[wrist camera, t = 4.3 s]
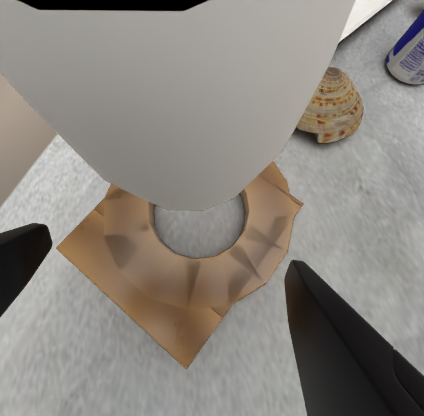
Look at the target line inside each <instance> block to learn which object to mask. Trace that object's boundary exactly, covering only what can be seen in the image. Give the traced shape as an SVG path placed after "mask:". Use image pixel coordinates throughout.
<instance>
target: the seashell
mask: <svg viewBox="0 0 424 416" xmlns="http://www.w3.org/2000/svg"><path fill="white" fill-rule="evenodd" d="M362 116H363V103H362V100H361V97H360V95H359V93H358V92H357V90H356V88H355V86H354V84H353V83H352V81H351V80H350V79H349V77H348V76H347V75H346V74H345V73H344V72H342V71H341V70H340V69H337V68H334V67H328V68H327V70H326V72H325V74H324V76H323V77H322V79H321V81H320V83H319V85H318V87H317V89H316V91H315V92H314V94H313V96H312V98H311V100H310V102H309V104H308V106H307V107H306V109H305V111H304V113H303V115H302V117H301V119H300V120H299V122H298V124H297V126H296V127H297V128H298V129H299V130H303V131H306V132H311V133H315V136H316V138H317V140H316V141H318V143H330V142H333V141H338V140H340V139H342V138H345V137H348V136H349V135H351V134H353V133H354V132H355V131H356V130H357V128H358V127H359V125H360V122H361V120H362Z"/></svg>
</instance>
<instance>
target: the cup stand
mask: <svg viewBox="0 0 424 416" xmlns="http://www.w3.org/2000/svg"><path fill="white" fill-rule="evenodd" d="M239 194H240V196H241V197H242V199H243V203H244V209H245V215H246V218H245V222H244V226H243V230H242V234H241V235H240V237H239V238H238V239H237V241H236V242H235V243H234V244H233V246H232V247H230V248H229V249H227V250H225V251H223V252H222V253H220V254H218V255H216V256H215V257H206V258H198V259H192V258H189V257H185V256H182V255H178V254H175V253H174V252H173V251H172V250H170V249H169V248H168V247H167V246H166V245H164V244H163V243H162V241H161V239H160V237H159V235H158V233H157V231H156V229H155V223H154V208H155V204H153V203H150V202H148V201H146V200H143V199H141V198H139V197H137V196H135V195H133V194H131V193H129V192H127V191H125V190H123V189H121V188H119V187H117V186H115V185H113V184H111V185H110V187H109V189H108V192H107V194H106V196H105V198H104V199H103V200H102V201H101V202H100V203H99V204H98V205H97V206H96V207H95V209H93V210H92V212H91V213H90V214H89V215H88V216H87V217H86V218H85V219H84V220H83V221H82V222H81V223H80V224H79V225H78V226H77V227H76V228H75V229H74V230H73V231H72V232H71V233H70V234H69V235H68V236H67V237H66V238H65V239H64V240H63V241H62V242H61V243H60V244H59V245H58V246H57V247H56V249H57V250H58V251H59V252H61V253H62V254H63V255H64V256H65V257H66V258H67V259H68V260H69V261H70V262H71V263H72V264H73V265H75V266H76V267H77V268H78V269H79V270H80V271H81V272H82V273H83V274H84V275H85V276H86V277H87V278H89V279H90V280H91V281H92V282H93V283H94V284H95V285H96V286H97V287H98V288H99V289H100V290H101V291H103V292H104V293H105V294H106V295H107V296H108V297H109V298H110V299H111V300H112V301H113V302H114V303H115V304H117V305H118V306H119V307H120V308H121V309H122V310H123V311H124V312H125V313H126V314H127V315H128V316H129V317H131V318H132V319H133V320H134V321H135V322H136V323H137V324H138V325H139V326H140V327H141V328H142V329H143V330H145V331H146V332H147V333H148V334H149V335H150V336H151V337H152V338H153V339H154V340H155V341H156V342H157V343H159V344H160V345H161V346H162V347H163V348H164V349H165V350H166V351H167V352H168V353H169V354H170V355H171V356H173V357H174V358H175V359H176V360H177V361H178V362H179V363H180V364H181V365H182V366H183V367H184V368H185V369H187V368H188V367H189V365H190V364H191V362H192V361H193V360H194V358H195V357H196V355H197V354H198V352H199V351H200V350H201V348H202V347H203V345H204V344H205V343H206V341H207V340H208V338H209V337H210V336H211V334H212V333H213V331H214V330H215V328H216V327H217V326H218V324H219V323H220V321H221V320H222V318H223V317H224V316H225V314H226V313H227V312H228V310H229V309H230V307H231V306H232V304H234V303H236V302H237V301H239V300H240V299H242V298H244V297H245V296H247V295H249V294H250V293H252V292H253V291H255V290H257V289H258V288H260V287H262V286H263V285H265V284H266V283H267V281H268V280H269V278H270V277H271V275H272V274H273V273H274V271H275V270H276V268H277V267H278V265H279V264H280V262H281V261H282V259H283V258H284V256H285V255H286V254H287V252H288V247H289V242H290V237H291V231H292V226H293V221H294V217H295V215H296V214H297V213H298V211H299V210H300V208H301V207H302V206H303V203H302V202H300V201H299V200H297V199H296V198H294V197H293V196H292V195H290V193H289V189H288V184H287V181H286V179H285V178H284V176H283V175H282V173H281V172H280V170H279V169H278V167H277V166H276V165H275V163H274V162H273V161H272V162H271V163H270V164H269V165H268V166H267V167H266V168H265V169H264V170H263V171H262V172H261V173H260V174H259V175H258V176H257V177H256V178H255V179H254V180H253V181H252V182H250V183H249V184H248V185H247V186H246V187H245V188H244V189H243V190H242V191H241V192H240V193H239Z"/></svg>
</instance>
